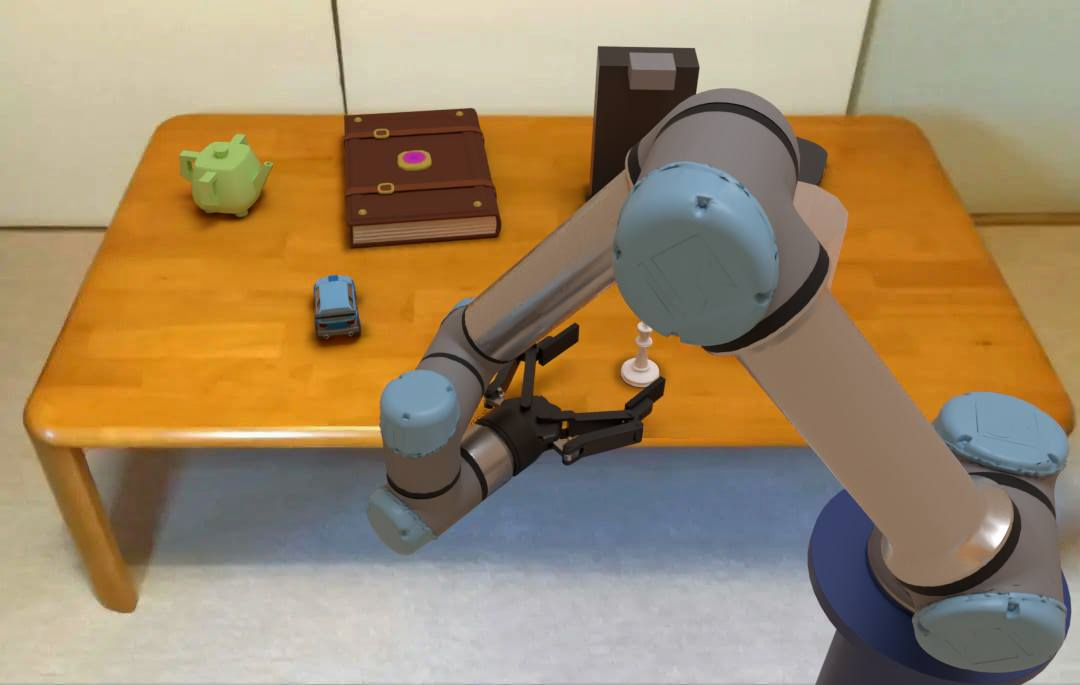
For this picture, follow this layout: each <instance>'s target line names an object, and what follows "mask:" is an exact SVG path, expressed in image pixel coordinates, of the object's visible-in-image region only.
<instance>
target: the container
mask: <svg viewBox="0 0 1080 685" xmlns="http://www.w3.org/2000/svg"><path fill="white" fill-rule="evenodd" d="M793 205H794V207H795V209H796V211H797V212H798V214H799V215H800V216H801V218H802V219H803V220H804V222H805V223H806V224H807V226H808V227H809V228H810V230H811V231H812V232H813V234H814V235H815V236H816V238H817V239H818V241H819V242H820V243H821V245H822V246H823V247H824V249H825V250H826V251H827V253H828V255H829V257H830V258H831V263H832V264H831V272H830V276H829V279H828V283H827V288H828V289H829V290H830V291H831V288H832V284H833V281H834V276H835V273H836V269H837V267H838V262H839V258H840V254H841V251H842V246H843V243H844V239H845V237H846V236H845V235H846V233H847V228H848V227H847V226H848V222H849V221H848V220H849V214H850V212H849V211H848V210H847V209H846V207H845V206H844V204H843V203H842V202H841V200H840V199H839V197H837V196H836V195H834V194H832V193H830V192H829V191H827V190H825V189H824V188H822V187H820V186H819V187H818V186H816V185H813V184H809V183H804V182H800V181H798V182H797V186H796V191H795V196H794V200H793Z"/></svg>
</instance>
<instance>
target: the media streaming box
mask: <svg viewBox="0 0 1080 685" xmlns="http://www.w3.org/2000/svg"><path fill="white" fill-rule="evenodd" d="M796 139H797V143H798V148H799V153H800V171H799V177H798V181H800V182H804V183H809V184H813V185H816V186H818V187H820V184H821V182H822V179H823V177H824V172H825V169H826V164H827V160H828V155H829V153H828V151H827V150H826V149H825V148H824V147H822V146H821V145H820V144H818V143H816V142H814V141H811V140H809V139H807V138H802V137H799V136H796Z"/></svg>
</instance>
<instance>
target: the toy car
mask: <svg viewBox="0 0 1080 685" xmlns="http://www.w3.org/2000/svg"><path fill="white" fill-rule="evenodd" d="M313 296H314V302H315V315H314V332H315V337H316V339H317V340H318V341H320V340H328V339H329V338H333V337H334V338H335V337H342V336H349V337H352V336H361V334H362V323H361V318H360V314H359V310H358V304H357V291H356V284H355V281H354V280H353V278H351V277H350V276H349V275H338V274H331V275H328V276H326V277H325V276H324V277H320V278H318V279H316V282H315V283H314V285H313Z"/></svg>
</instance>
